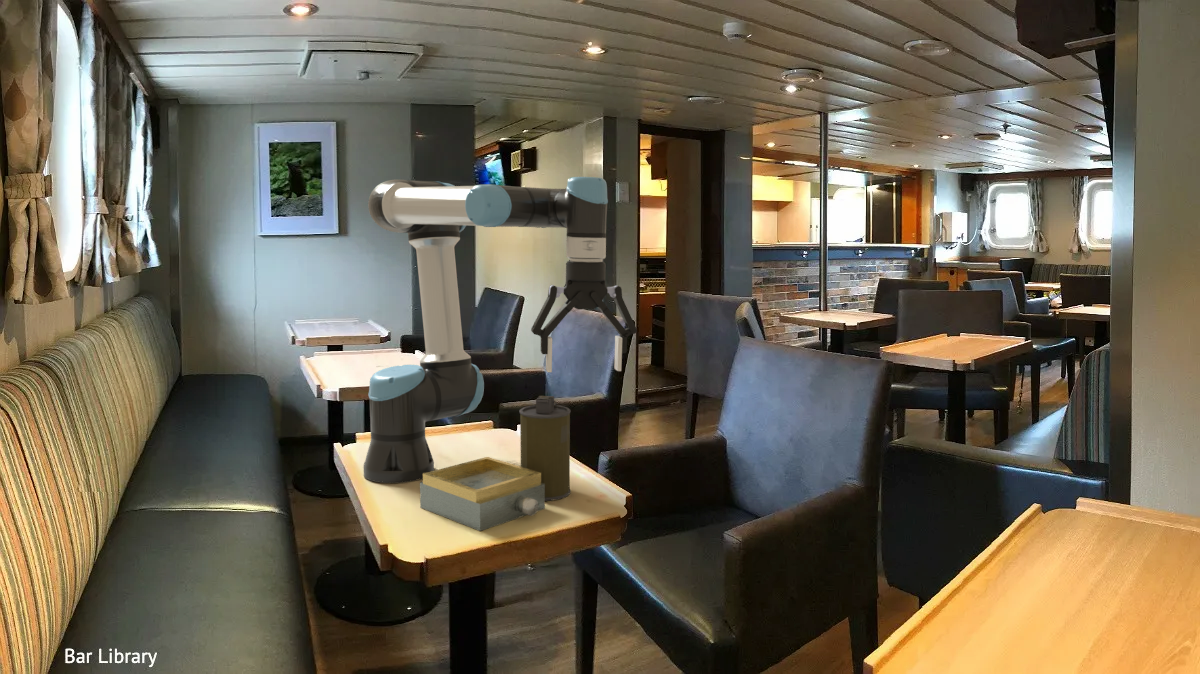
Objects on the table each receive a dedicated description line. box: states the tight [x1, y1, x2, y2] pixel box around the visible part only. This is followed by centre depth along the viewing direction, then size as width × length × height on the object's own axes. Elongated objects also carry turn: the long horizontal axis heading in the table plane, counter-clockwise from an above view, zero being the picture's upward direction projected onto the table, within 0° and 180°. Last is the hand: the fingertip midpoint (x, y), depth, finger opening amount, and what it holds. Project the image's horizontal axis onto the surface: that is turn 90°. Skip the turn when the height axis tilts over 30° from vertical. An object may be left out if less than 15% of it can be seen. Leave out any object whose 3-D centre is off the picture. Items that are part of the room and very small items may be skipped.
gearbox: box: [419, 456, 546, 532], centre depth 152 cm, size 21×16×7 cm
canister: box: [519, 395, 571, 502], centre depth 162 cm, size 11×10×20 cm
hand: (583, 370), depth 153 cm, fingers open, 13 cm apart
